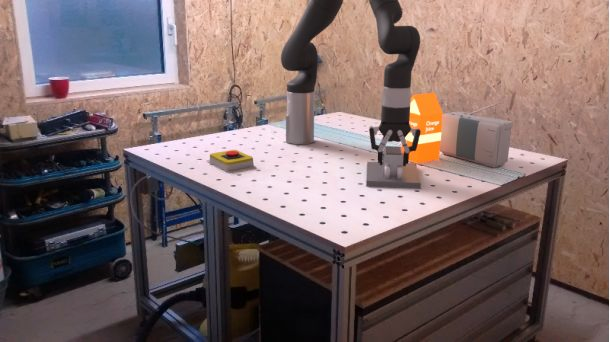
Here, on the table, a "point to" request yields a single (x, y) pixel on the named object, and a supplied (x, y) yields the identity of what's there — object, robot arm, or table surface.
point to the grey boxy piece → (392, 159)
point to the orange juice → (425, 127)
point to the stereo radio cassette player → (476, 137)
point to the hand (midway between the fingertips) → (392, 164)
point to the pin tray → (404, 179)
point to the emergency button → (231, 161)
